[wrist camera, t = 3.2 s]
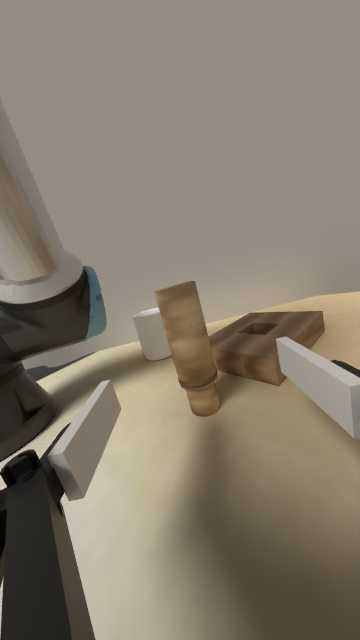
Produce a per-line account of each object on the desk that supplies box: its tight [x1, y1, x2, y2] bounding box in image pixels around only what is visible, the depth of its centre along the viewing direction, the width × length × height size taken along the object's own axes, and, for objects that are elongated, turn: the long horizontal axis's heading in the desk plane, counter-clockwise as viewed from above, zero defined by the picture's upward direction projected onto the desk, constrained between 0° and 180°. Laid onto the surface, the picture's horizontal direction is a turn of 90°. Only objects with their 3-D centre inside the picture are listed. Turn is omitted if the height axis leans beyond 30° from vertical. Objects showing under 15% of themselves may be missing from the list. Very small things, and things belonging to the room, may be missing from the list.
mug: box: [132, 308, 172, 361], centre depth 49 cm, size 9×12×11 cm
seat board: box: [208, 311, 324, 386], centre depth 38 cm, size 15×20×4 cm
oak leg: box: [154, 281, 220, 416], centre depth 24 cm, size 5×5×16 cm
